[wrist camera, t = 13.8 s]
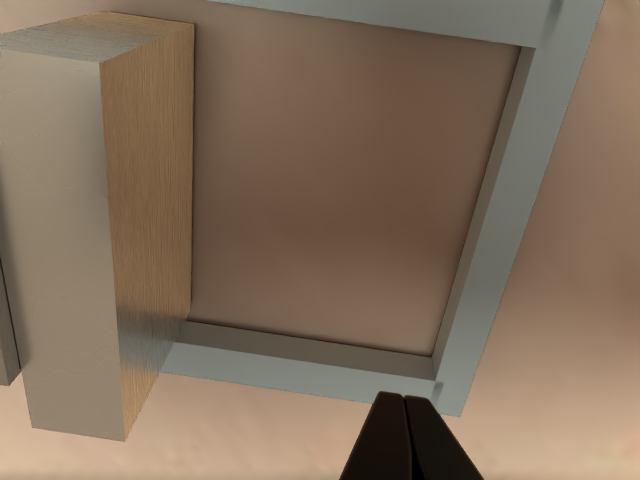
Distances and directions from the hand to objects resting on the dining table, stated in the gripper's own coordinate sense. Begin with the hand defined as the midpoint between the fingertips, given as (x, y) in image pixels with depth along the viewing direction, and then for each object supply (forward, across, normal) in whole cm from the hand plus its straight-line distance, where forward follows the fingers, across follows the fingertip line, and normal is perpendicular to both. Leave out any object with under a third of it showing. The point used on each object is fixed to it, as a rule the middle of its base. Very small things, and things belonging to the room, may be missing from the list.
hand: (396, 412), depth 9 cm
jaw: (+6, +6, -1) cm, 9 cm away
